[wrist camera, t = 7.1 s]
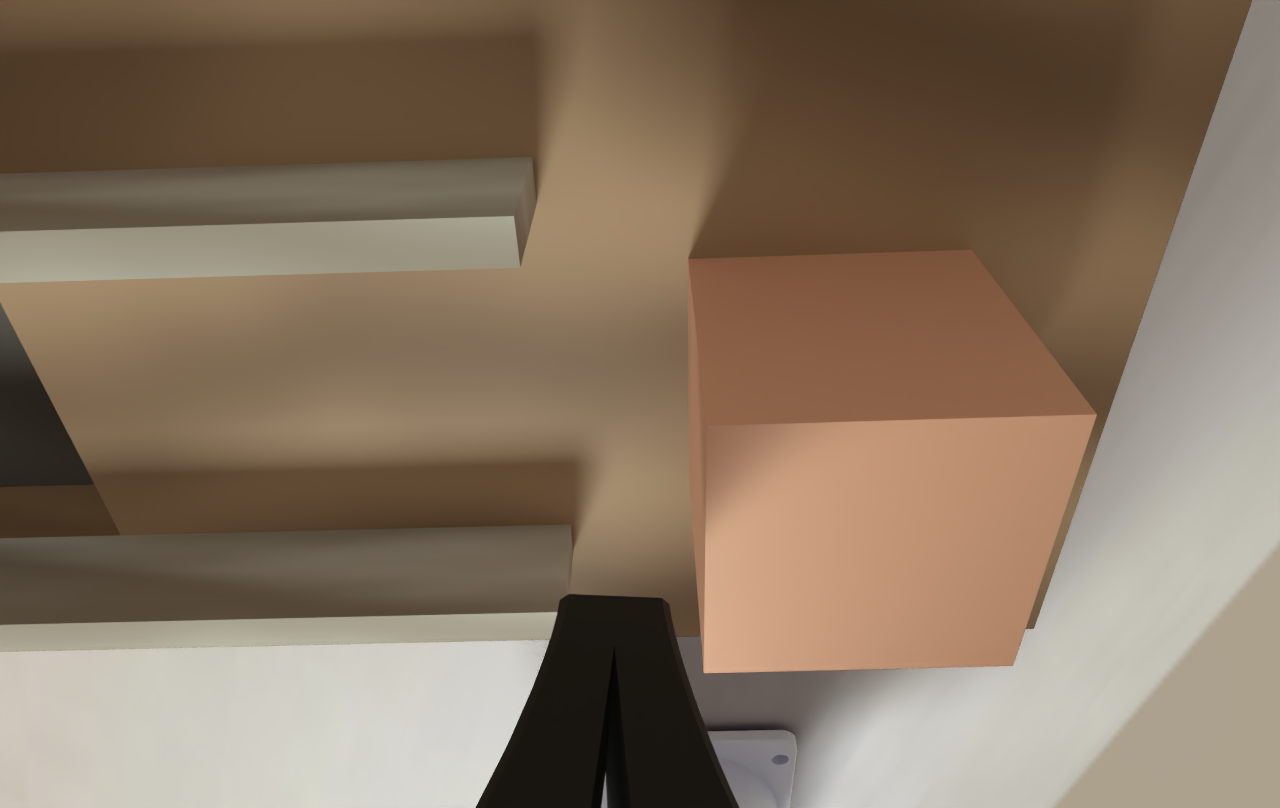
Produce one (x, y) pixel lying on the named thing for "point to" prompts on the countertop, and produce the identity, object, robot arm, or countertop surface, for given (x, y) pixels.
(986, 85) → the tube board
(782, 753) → the robot arm
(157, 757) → the countertop surface
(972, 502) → the block
